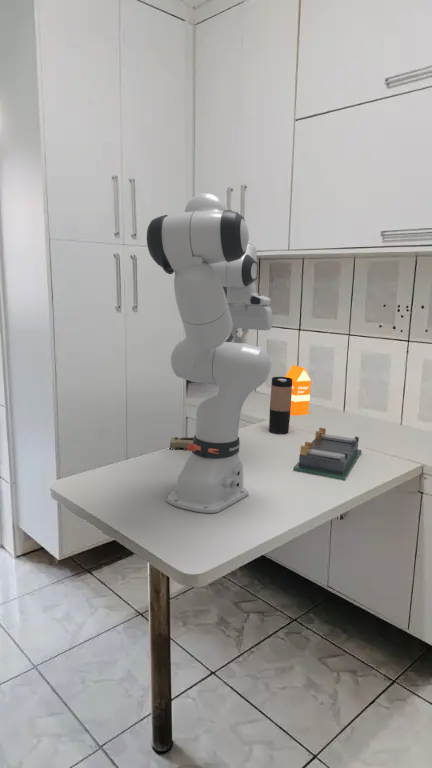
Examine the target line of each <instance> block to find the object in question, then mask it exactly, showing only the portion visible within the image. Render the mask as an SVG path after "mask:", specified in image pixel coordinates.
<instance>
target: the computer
mask: <svg viewBox="0 0 432 768" xmlns="http://www.w3.org/2000/svg"><path fill="white" fill-rule="evenodd" d="M193 439H194V436H193V437H182V436H181V437H177V436H173V437H171V438H170V442H169V449H170V448H172V449H171V450H173V449H175V448H179V449H178V450H184V451H188V448H187V447H188V444H189V443H192V442H193ZM175 450H176V449H175Z"/></svg>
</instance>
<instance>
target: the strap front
mask: <svg viewBox="0 0 432 768" xmlns="http://www.w3.org/2000/svg"><path fill="white" fill-rule="evenodd" d="M308 454H309V455H315V456H322V457H328V458H334V459H341V456H344V457H345V455H346V454H339V453H333V452H327V451H321V450H314V449H308Z"/></svg>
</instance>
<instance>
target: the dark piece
mask: <svg viewBox="0 0 432 768" xmlns="http://www.w3.org/2000/svg"><path fill="white" fill-rule="evenodd" d="M326 431H327V428H325V427H319V428H318V430H316V431H315V438H314V440H312V441H305V442H304V445H301V446H300V449H299V450H300V451H299V453H300V454H299V459H298V462H297V463H296V464H295V465H294V466H293V471H294V472H298V473H303V474H310V475H315V476H321V477H325V478H330V479H336V480H339V481H346V478H347V477H348V476H349V474H350V472H351V471H352V469H353V468H354V466H355V464H356V463H357V461H358V459H359V458H360V456H361V454H362V449H359V448H358V447H359V441H360V436H354V439H356V440H352V443H347V442H341V441H334V440H328V439H322V434H326V433H327V432H326ZM308 449H314V450H321V451H327V452H333V453H339V454H346V455H345V457H344V456H341V459H334V458H328V457H322V456H315V455H309V454H308ZM293 471H292V472H293Z"/></svg>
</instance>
